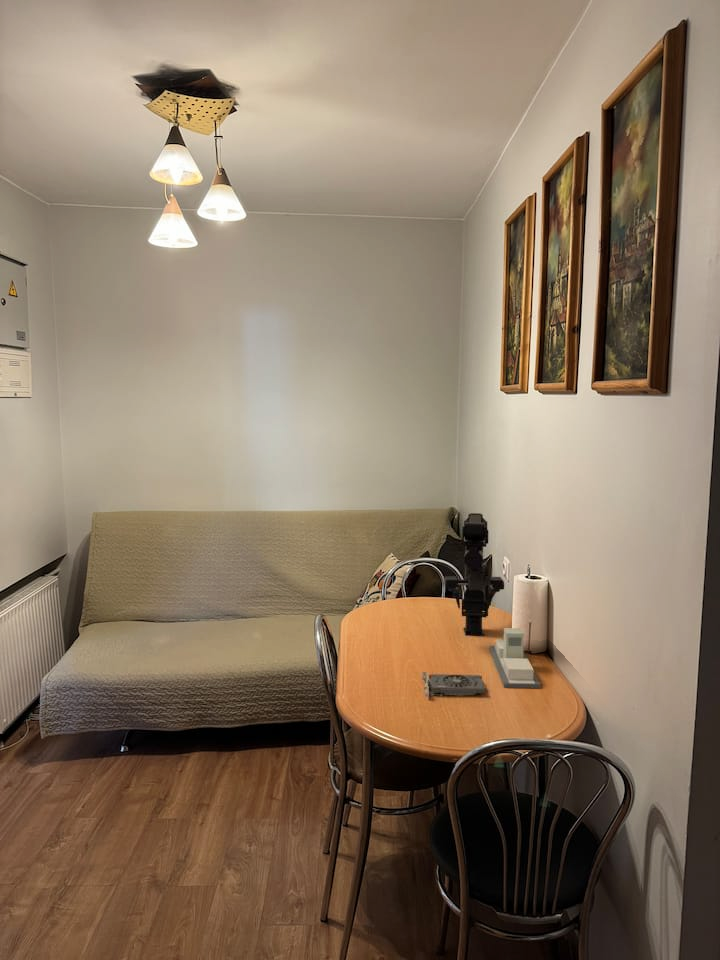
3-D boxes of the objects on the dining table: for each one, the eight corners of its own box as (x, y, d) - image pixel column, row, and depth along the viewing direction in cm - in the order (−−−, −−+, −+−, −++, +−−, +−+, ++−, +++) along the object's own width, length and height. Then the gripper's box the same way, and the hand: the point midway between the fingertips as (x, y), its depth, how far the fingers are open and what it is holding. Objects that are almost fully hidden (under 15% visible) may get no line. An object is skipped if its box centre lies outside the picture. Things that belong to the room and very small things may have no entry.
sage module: (503, 659, 191) (503, 628, 190) (519, 660, 190) (520, 628, 189) (505, 666, 186) (506, 633, 185) (523, 666, 186) (523, 633, 185)
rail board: (489, 649, 203) (489, 636, 202) (520, 650, 202) (520, 637, 202) (504, 687, 175) (504, 672, 174) (540, 688, 174) (540, 673, 174)
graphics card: (424, 689, 167) (422, 670, 179) (424, 703, 168) (422, 682, 179) (488, 691, 166) (481, 671, 178) (487, 704, 167) (481, 684, 179)
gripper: (446, 567, 194) (446, 616, 196) (507, 567, 193) (506, 617, 195) (444, 559, 205) (443, 605, 207) (501, 559, 204) (500, 606, 206)
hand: (473, 608), depth 203 cm, fingers open, 9 cm apart
